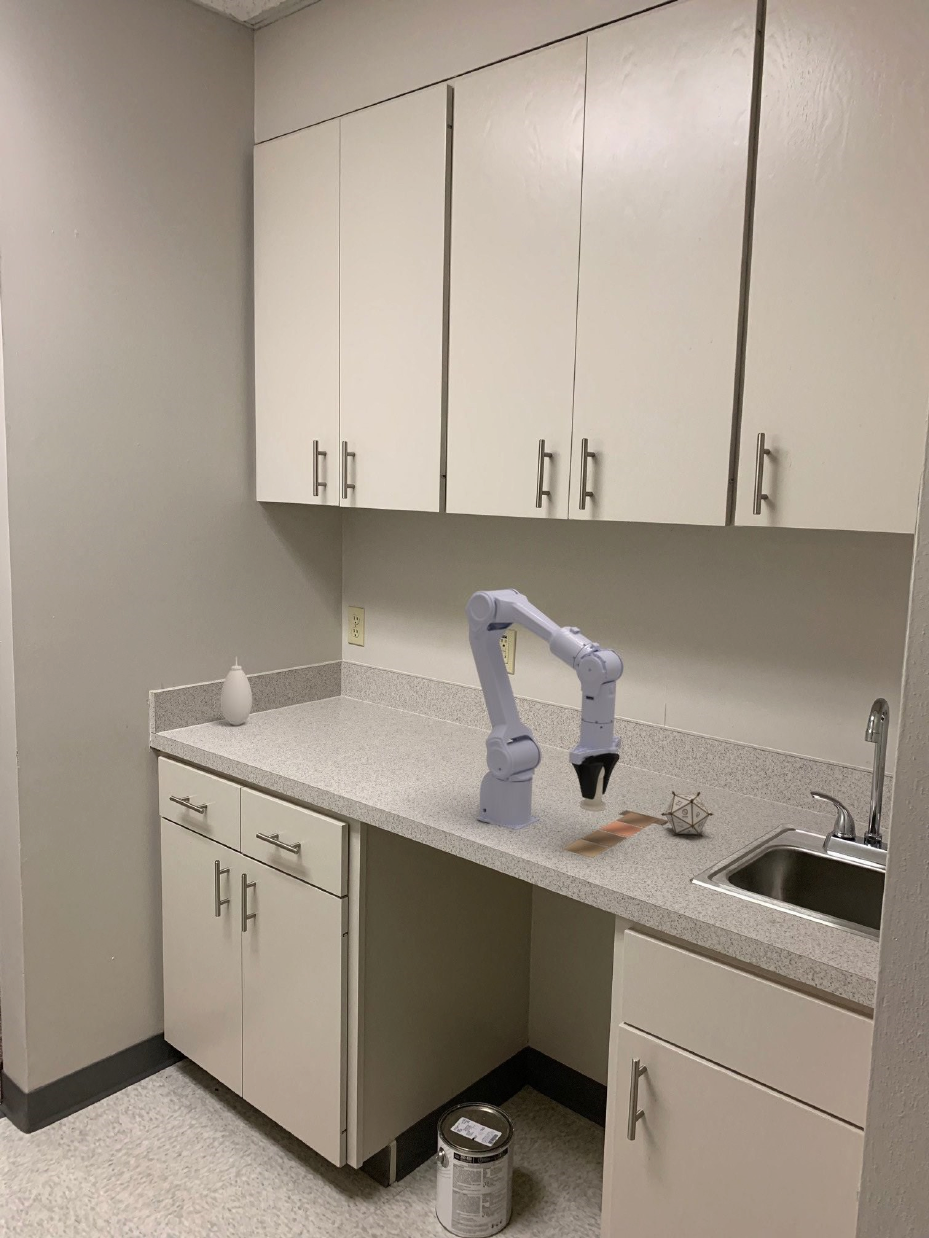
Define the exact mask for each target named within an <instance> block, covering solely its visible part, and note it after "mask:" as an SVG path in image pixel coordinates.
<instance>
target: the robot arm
mask: <svg viewBox="0 0 929 1238" xmlns="http://www.w3.org/2000/svg"><path fill="white" fill-rule="evenodd" d="M464 610H465V614H466V617H467V623H468V641H469V646H470V649H471V653H472V657H473V660H474V663H475V668H476V671H477V676H478V679H479V683H480V687H481V690H482V691H481V692H482V694H483V698H484V701H485V705H486V710H487V713H488V714H487V715H488V717H489V720H490V725H491V732H490V733H489V735H488V736H487V738H486V739H485V742H484V743H485V746H486V765H487V768H488V770H489V771H488V772H486V773H485V774H484V776H483V777H482V780H481V782H480V785H479V786H480V787H479V810H478V812H479V814H478V816H477V817H476V820H478V821H481V822H485V823H488V824H493V825H496V826H501V827H504V828H508V829H511V830H515V831H519V830H522V829H523V828H525V827H528V826H530V825H532V824H534V823H537V822H538V821H540V820H541V818H540V817H538V816H533V815H532V804H533V803H532V797H533V778H534V777H533V776H534V775H535V771H536V770H535V769H536V768H538V767H539V766H540V765H541V764H540V763H541V761H542V756H543V755H542V749H541V747H540V745H539V743H538V742H537V740H536V739H535V737H534V735H533V732H532V729H531V728H529V727H528V726H527V725H526V724H525V723H523V722H522V720H521V718H520V714H519V711H518V707H517V703H516V698H515V696H514V691H513V688H512V685H511V681H510V677H509V673H508V670H507V665H506V662H505V657H504V655H503V652H502V647H501V644H500V643H501V640H502V638H503V637H504V634H505V633H506V632H507V631H508V630H509V629H510V628H511V627H512V626H513V625H514V624H515V623H516V624H519V625H520V626H522V628H523V627H524V628H525V629H527V630H528V631H529V632H531V633H533V634H534V635H536V636H537V637H539V638H541V640H544V641H545V642H547V643H548V644H549V650H550V653H551V654H553V655H554V656H555V657H557V658H558V659H559V660H560V661H562V662H563V663H565V664H566V665H567V666H569V667H570V668H571V669H573V670H574V671H575V672H576V676H577V679H578V680H579V681H580V691H581V692H582V693H581V694H582V695H581V710H580V712H581V713H580V715H581V716H580V731H579V732H580V734H579V742H578V743H577V744H576V745H575V747H574V748H573V749H572V750H570V751H569V753H568V754H569V755H568V763H570V764H571V765H572V766H573V768H574V771H575V773H576V776H577V779H578V783H579V788H580V793H581V798H584V799H585V798H587V799H591V800H593V799H594V797H595V794H596V789H597V782H598V778H599V774H600V772H601V769H602V767H604V770H605V773H604V776H603V789H602V796H603V795H605V794H606V791H607V789H608V785H609V781H610V779H611V775H612V773H613V770H614V768H615V766H616V765H617V763H618V762H619V760H620V753H618V752H619V750H620V749H621V748H622V737H619V736H614V731H615V730H614V729H615V728H614V727H615V713H616V712H615V710H616V695H617V694H616V693H617V681H618V680H619V679H620V678H621V677H622V675H623V674H624V667H625V666H624V662H623V660H622V658H621V656H620V654H619V653H617V652H616V650H615V649H613V648H605V649H603V648H601V645H600V644H599V643H597V642H593V641H591V640H590V639H589V638H587V637H586V636H584V635H583V634H582V633H581V629H580V628H578V627H577V626H562V627H560V626H559V625H558V624H557V623H555V622H554V621H553V620H552V619H550V617H548V616H547V615H546V614H544V613H543V612H542V611H541V610H539V609H538V608H537V607H535V605H533V604H532V603H530V601H529V600H528V598H527V596H526V595H525V594H523V593H520V592H519V591H518V590H516V589H514V588H505V589H498V590H478V591H475V592H473V593H472V595H471V596H470V598H469V600H468V602H467V604H466V606H465V608H464ZM509 740H511V741H509Z"/></svg>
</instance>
